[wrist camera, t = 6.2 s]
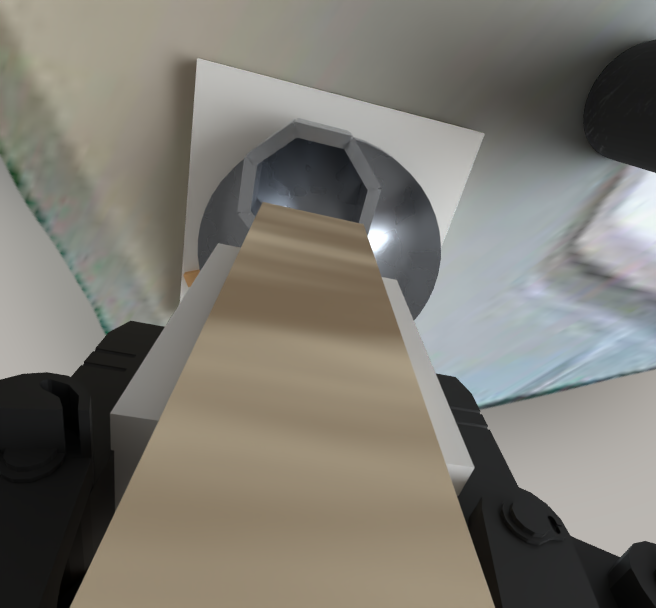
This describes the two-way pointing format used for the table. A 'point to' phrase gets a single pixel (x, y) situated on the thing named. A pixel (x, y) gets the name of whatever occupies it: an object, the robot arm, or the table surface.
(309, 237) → the stick
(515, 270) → the table surface
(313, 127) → the dial
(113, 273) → the table surface
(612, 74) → the travel mug
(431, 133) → the plate
